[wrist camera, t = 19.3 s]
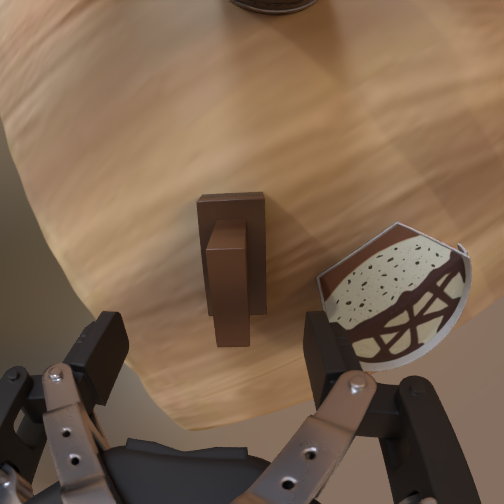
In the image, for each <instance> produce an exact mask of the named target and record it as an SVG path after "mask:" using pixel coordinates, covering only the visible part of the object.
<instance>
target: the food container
mask: <svg viewBox="0 0 504 504" xmlns="http://www.w3.org/2000/svg"><path fill="white" fill-rule="evenodd" d="M457 244H458V249H459V250H457V249H455V248H453V247H451V246H449V245H447V244H445V243H443V242H441V241H439V240H437V239H434V238H432V237H430V236H428V235H426V234H424V233H422V232H420V231H418V230H415V229H413V228H411V227H409V226H407V225H405V224H402V223H400V222H398V221H397V222H396V223H395V224H393V225H392V226H390V227H389V228H388V229H386V230H385V231H383V232H382V233H380V234H379V235H378V236H376V237H375V238H373V239H372V240H370V241H369V242H367V243H366V244H365V245H363V246H362V247H360V248H359V249H357V250H356V251H354V252H353V253H351V254H350V255H348V256H347V257H345V258H344V259H342V260H341V261H339V262H338V263H336V264H335V265H333V266H332V267H330V268H329V269H327V270H326V271H324V272H323V273H321V274H320V275H318V276H317V277H316V280H317V284H318V289H319V293H320V298H321V303H322V307H323V311H325V312H326V315H327V317H328V320H329V322H338V323H339V324H340V325H341V326H343V327H344V328H345V330H346V332H347V334H348V336H349V339H350V341H351V343H352V346H353V348H354V350H355V353H356V355H357V357H358V360H359V362H360V365H361V367H362V369H363V371H371V372H378V371H387V370H391V369H396V368H399V367H402V366H405V365H407V364H409V363H411V362H413V361H415V360H417V359H419V358H420V357H422V356H424V355H425V354H427V353H428V352H429V351H431V350H432V349H433V348H434V347H436V346H437V345H438V344H439V343H440V342H441V341H442V340H443V339H444V338H445V337H446V336H447V334H448V333H449V332H450V331H451V330H452V328H453V327H454V325H455V324H456V322H457V321H458V319H459V317H460V315H461V313H462V312H463V310H464V307H465V305H466V302H467V299H468V296H469V292H470V288H471V281H472V265H471V259H470V257H469V256H468V252H467V251H466V250H465V249H464V248H463V246H462V245H461V244H460V243H457Z"/></svg>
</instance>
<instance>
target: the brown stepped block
mask: <svg viewBox="0 0 504 504" xmlns="http://www.w3.org/2000/svg"><path fill="white" fill-rule="evenodd" d="M197 213H198V224H199V235H200V245H201V255H202V264H203V273H204V282H205V290H206V298H207V306H208V314H209V316H213V319H214V327H215V335H216V342H217V347H249V346H250V315H266V314H267V306H266V244H265V199H264V195H263V192H249V193H226V194H207V195H202V196H201V197H200V198H199V199H198V201H197Z"/></svg>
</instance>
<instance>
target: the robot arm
mask: <svg viewBox="0 0 504 504" xmlns="http://www.w3.org/2000/svg"><path fill="white" fill-rule="evenodd" d="M230 1H232V2H233V3H235V4H236V5H238V6H240V7H242V8H245V9H247V10H250V11H254V12H258V13H263V14H289V13H294V12H298V11H301V10H304V9H306V8H308V7H310V6H311V5H313V4H314V3H315V2H317V1H318V0H230ZM128 351H129V340H128V336H127V333H126V330H125V327H124V323H123V320H122V317H121V314H120V313H119V312H110V311H103V312H102V313H101V314H100V316H99V317H98V319H97V320H96V322H95V321H93V322H92V323H91V324H89V325H88V326H87V327H85V329H84V330H83V332H82V333H81V335H80V337H79V338H78V339H77V341H76V343H75V344H74V345H73V347H72V348H71V350H70V352H69V353H68V355H67V356H66V358H65V359H64V361H63V363H56V364H53V365H51V366H49V367H48V368H47V369H46V370H45V371H44V373H43V375H33V376H30V375H29V374H28V372H27V370H26V369H25V368H24V367H22V366H15V367H12V368H10V369H9V370H7V371H6V372H5V374H4V375H3V377H2V378H1V380H0V504H321V503H319V502H318V501H317V498H318V497H319V495H320V494H321V492H322V491H323V489H324V488H325V486H326V485H327V483H328V482H329V480H330V479H331V477H332V475H333V474H334V472H335V470H336V469H337V467H338V466H339V463H340V462H341V461H342V459H343V457H344V455H345V454H346V452H347V450H348V448H349V447H350V445H351V443H352V442H353V440H354V438H355V436H366V437H378V438H379V442H380V446H381V450H382V454H383V457H384V462H385V466H386V470H387V474H388V479H389V483H390V487H391V492H392V496H393V501H394V504H481V501H480V498H479V495H478V492H477V489H476V486H475V483H474V480H473V477H472V475H471V472H470V469H469V467H468V464H467V461H466V459H465V457H464V454H463V452H462V449H461V447H460V444H459V442H458V439H457V437H456V435H455V432H454V430H453V428H452V425H451V423H450V421H449V419H448V416H447V414H446V412H445V410H444V408H443V406H442V404H441V401H440V400H439V397H438V395H437V393H436V391H435V389H434V387H433V385H432V384H431V383H430V382H429V381H428V380H427V379H425V378H423V377H420V376H409V377H406V378H404V379H403V380H402V381H401V382H400V384H399V385H387V384H380V383H377V382H376V381H375V379H374V378H373V377H372V376H371V375H370V374H368V373H366V372H364V371H363V369H362V367H361V365H360V362H359V360H358V357H357V355H356V353H355V350H354V348H353V346H352V343H351V341H350V339H349V336H348V334H347V332H346V330H345V328H344V327H343V326H341V325H340V324H339V323H338V322H329V320H328V317H327V315H326V312H325V311H312V312H307V313H306V319H305V329H304V338H303V351H304V357H305V361H306V366H307V370H308V374H309V379H310V383H311V388H312V392H313V397H314V402H315V406H316V411H317V412H316V413H315V414H314V415H310V416H308V417H307V419H306V420H305V421H304V422H303V424H302V425H301V427H300V428H299V429H298V431H297V432H296V433H295V434H294V436H293V437H292V438H291V439H290V441H289V442H288V443H287V445H286V446H285V447H284V448H283V449H282V451H281V452H280V453H279V454H278V456H277V457H276V458H275V459H274V460H273V462H272V463H271V462H269V461H266V460H264V459H262V458H258V457H255V456H251V455H248V450H247V447H213V448H208V449H201V450H195V451H186V452H184V451H179V450H176V449H173V448H170V447H167V446H164V445H162V444H159V443H156V442H150V441H144V440H137V439H132V438H128V439H127V442H126V446H118V447H114V448H110V446H109V444H108V442H107V439H106V437H105V435H104V432H103V430H102V428H101V425H100V423H99V420H98V418H97V415H96V413H95V411H94V409H93V408H94V406H95V404H98V405H104V406H105V405H106V403H107V400H108V398H109V395H110V393H111V390H112V388H113V386H114V383H115V381H116V379H117V376H118V374H119V372H120V369H121V367H122V365H123V363H124V360H125V358H126V356H127V354H128ZM20 409H21V410H22V411H23V413H24V414H25V416H24V418H23V420H22V422H21V424H20V426H19V428H18V431H17V433H15V431H14V427H13V426H14V421H15V419H16V417H17V415H18V413H19V411H20ZM47 439H48V444H49V448H50V451H51V455H52V458H53V462H54V465H55V468H56V472H57V476H58V478H59V481H58V482H56V483H55V484H53V485H51V486H50V487H48V488H47V489H45V490H43V491H42V492H40V493H38V494H37V495H35V496H34V495H33V489H32V486H31V485H32V482H33V478H34V475H35V472H36V469H37V466H38V463H39V460H40V457H41V455H42V452H43V449H44V447H45V444H46V441H47Z"/></svg>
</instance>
